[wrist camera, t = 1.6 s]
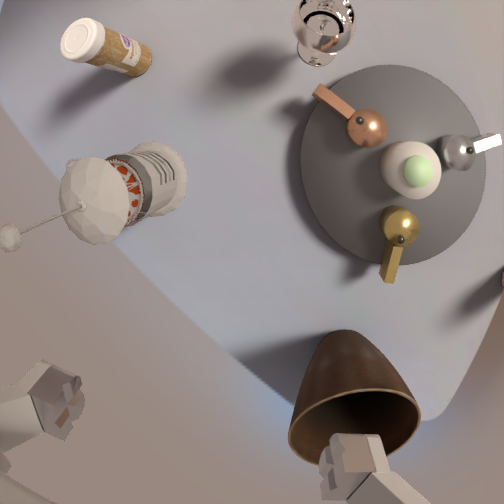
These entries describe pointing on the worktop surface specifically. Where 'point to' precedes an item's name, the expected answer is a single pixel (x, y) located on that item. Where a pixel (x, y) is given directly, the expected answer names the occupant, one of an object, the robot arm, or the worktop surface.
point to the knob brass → (396, 238)
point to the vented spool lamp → (114, 193)
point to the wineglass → (323, 29)
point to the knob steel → (463, 149)
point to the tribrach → (391, 164)
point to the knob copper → (355, 119)
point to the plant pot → (351, 398)
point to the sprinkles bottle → (104, 48)
